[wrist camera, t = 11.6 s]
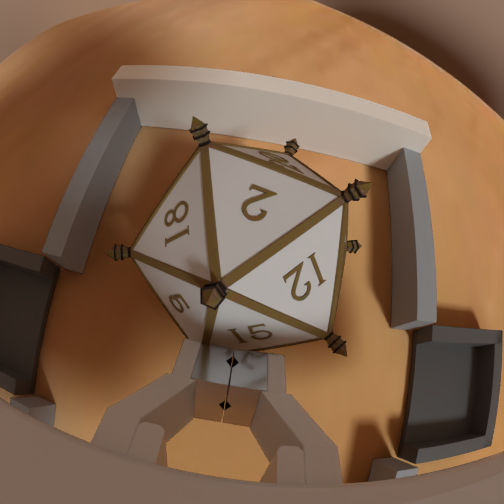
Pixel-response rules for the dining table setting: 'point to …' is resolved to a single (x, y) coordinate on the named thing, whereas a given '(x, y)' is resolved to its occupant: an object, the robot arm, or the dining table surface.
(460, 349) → the trap lane
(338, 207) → the game die
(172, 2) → the dining table surface
